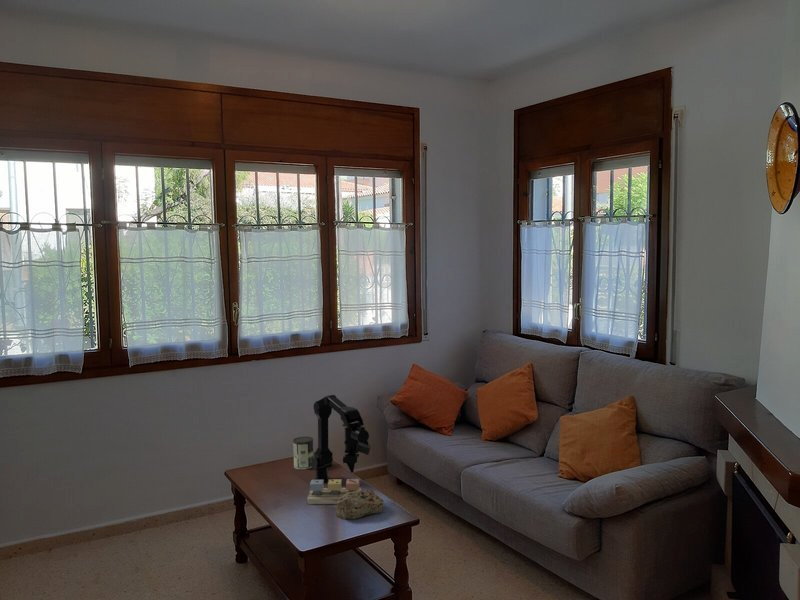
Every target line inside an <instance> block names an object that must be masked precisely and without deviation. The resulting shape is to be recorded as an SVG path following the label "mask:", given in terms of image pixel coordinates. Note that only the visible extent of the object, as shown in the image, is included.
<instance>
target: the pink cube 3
mask: <svg viewBox="0 0 800 600" xmlns="http://www.w3.org/2000/svg"><path fill="white" fill-rule="evenodd" d="M345 488H346V490H349V492H353V491H357V490H359V488H360V478H350V479H349V478H347V479H346V482H345Z"/></svg>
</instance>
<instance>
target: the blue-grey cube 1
mask: <svg viewBox="0 0 800 600" xmlns="http://www.w3.org/2000/svg"><path fill="white" fill-rule="evenodd" d="M323 488H325V482H324V480H315V479H311V481H310V482H309V492H310V491H313V495H320V494H321V491H322V490H323Z"/></svg>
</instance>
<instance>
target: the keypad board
mask: <svg viewBox="0 0 800 600" xmlns="http://www.w3.org/2000/svg"><path fill="white" fill-rule="evenodd" d="M361 490H363V488H362V487H359V490H357V491H361ZM347 492H349V490H346V487H341V490H339V494H338V495H331V491H328V487H323V490H322V491H321V494H320V495H313V491H310V490H309V494H308V495H307V498H306V499H307V502H306V503H307V505H337V501H338V500H339V498H340V497H342V496H343V495H345V494H346V493H347Z"/></svg>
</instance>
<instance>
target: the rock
mask: <svg viewBox="0 0 800 600" xmlns="http://www.w3.org/2000/svg"><path fill="white" fill-rule="evenodd" d="M384 505H385V502H384V499H383V498H382V497H380V496H379V495H378V494H377V493H375V492H374V491H373V490H371V489H362V490H361V491H353V492H347V493H346V494H345V495H343V496H342V497H340V498H339V500H338V501H337V504H336V512H335V516H336V517H338V518H340V519H343V520H347V519H349V520H351V519H353V520H355V519H359V518H362V516H363V517H366V516H369V515H372V514H377V513H382V511H383V509H384Z"/></svg>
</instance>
